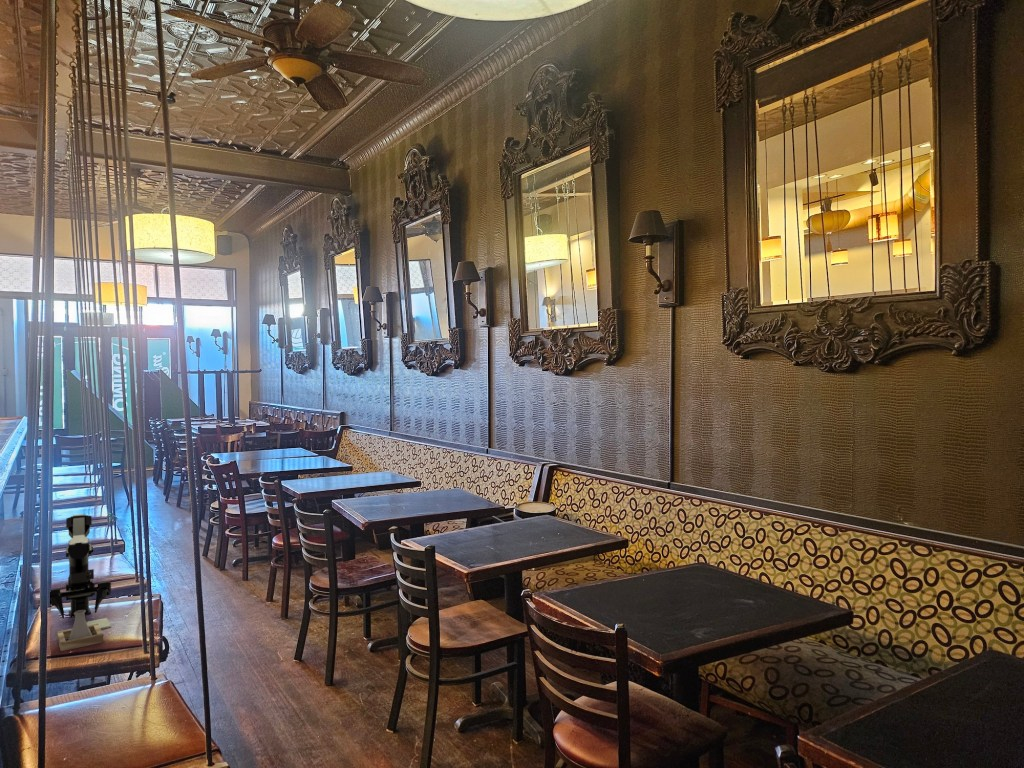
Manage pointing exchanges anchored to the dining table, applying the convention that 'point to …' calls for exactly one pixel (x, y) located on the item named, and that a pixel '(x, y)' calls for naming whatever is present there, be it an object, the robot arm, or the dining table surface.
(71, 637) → the flask
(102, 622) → the sage pad
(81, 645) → the oak cradle
